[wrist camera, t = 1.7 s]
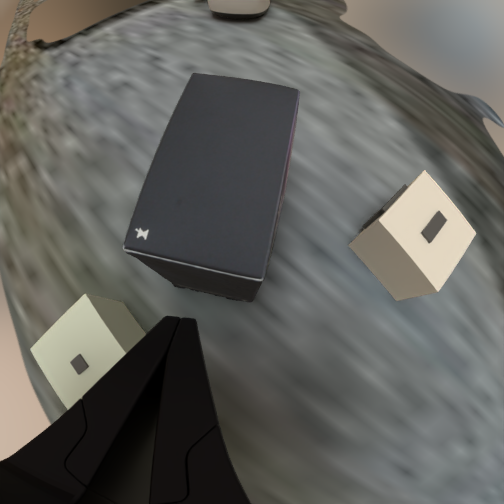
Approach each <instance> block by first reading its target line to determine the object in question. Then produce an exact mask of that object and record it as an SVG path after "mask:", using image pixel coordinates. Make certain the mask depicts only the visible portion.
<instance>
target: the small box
mask: <svg viewBox="0 0 504 504" xmlns="http://www.w3.org/2000/svg"><path fill="white" fill-rule="evenodd" d="M299 96H300V91H299V90H298V89H294V88H290V87H286V86H282V85H276V84H272V83H265V82H261V81H254V80H248V79H241V78H234V77H226V76H217V75H208V74H199V73H193V74H192V75H191V77H190V79H189V81H188V83H187V85H186V87H185V89H184V91H183V93H182V95H181V97H180V99H179V101H178V103H177V105H176V107H175V109H174V111H173V114H172V116H171V118H170V120H169V122H168V124H167V127H166V129H165V131H164V133H163V136H162V138H161V140H160V143H159V145H158V148H157V150H156V152H155V155H154V157H153V160H152V162H151V165H150V168H149V170H148V173H147V175H146V178H145V180H144V183H143V186H142V189H141V191H140V194H139V197H138V199H137V202H136V205H135V208H134V211H133V214H132V217H131V220H130V224H129V227H128V230H127V233H126V236H125V239H124V242H123V246H122V247H123V249H124V251H125V252H126V253H127V254H130V255H132V256H133V257H136V258H137V259H139V260H140V261H141V262H143V263H144V264H146V265H147V266H148V267H150V268H151V269H153V270H154V271H155V272H157V273H158V274H160V275H161V276H162V277H164V278H165V279H167V280H169V281H170V282H171V283H172V284H173V285H174V287H179V288H189V289H191V290H195V291H201V292H204V293H209V294H214V295H216V296H222V297H226V298H227V299H232V300H239V301H247V302H252V301H253V299H254V297H255V295H256V293H257V291H258V289H259V287H260V285H261V283H262V281H263V280H264V278H265V275H266V271H267V268H268V265H269V261H270V257H271V253H272V249H273V245H274V240H275V236H276V232H277V227H278V223H279V218H280V214H281V209H282V205H283V200H284V196H285V191H286V184H287V178H288V172H289V166H290V160H291V153H292V147H293V141H294V134H295V128H296V121H297V113H298V105H299Z"/></svg>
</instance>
